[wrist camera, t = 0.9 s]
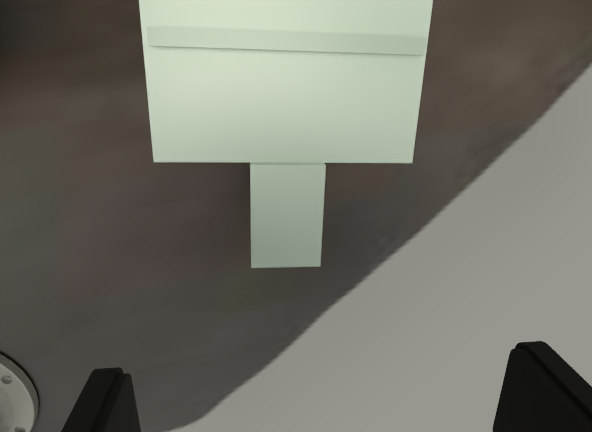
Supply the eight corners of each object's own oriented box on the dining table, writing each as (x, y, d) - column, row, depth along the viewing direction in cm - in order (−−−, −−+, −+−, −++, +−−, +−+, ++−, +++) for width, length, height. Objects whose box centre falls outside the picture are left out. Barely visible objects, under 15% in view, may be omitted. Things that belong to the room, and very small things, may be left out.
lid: (394, 252, 26) (404, 265, 24) (166, 257, 25) (160, 272, 23) (455, -252, 18) (477, -285, 16) (118, -293, 16) (102, -335, 15)
